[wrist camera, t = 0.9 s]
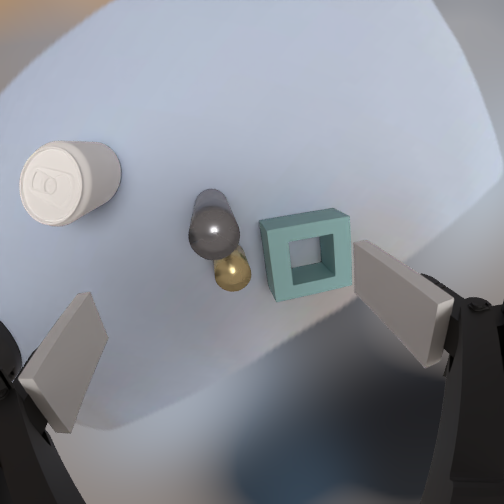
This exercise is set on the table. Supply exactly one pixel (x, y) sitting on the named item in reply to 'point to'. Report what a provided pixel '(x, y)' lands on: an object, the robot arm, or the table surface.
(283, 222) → the hole block
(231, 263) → the short pin
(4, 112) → the table surface
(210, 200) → the long pin
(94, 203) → the beverage can
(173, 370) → the table surface
